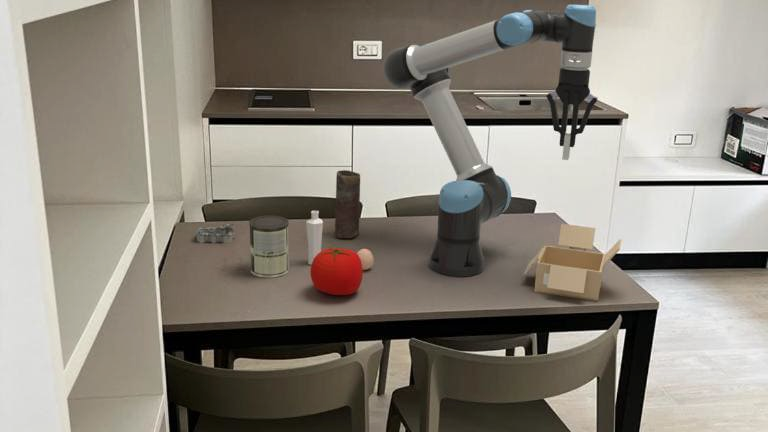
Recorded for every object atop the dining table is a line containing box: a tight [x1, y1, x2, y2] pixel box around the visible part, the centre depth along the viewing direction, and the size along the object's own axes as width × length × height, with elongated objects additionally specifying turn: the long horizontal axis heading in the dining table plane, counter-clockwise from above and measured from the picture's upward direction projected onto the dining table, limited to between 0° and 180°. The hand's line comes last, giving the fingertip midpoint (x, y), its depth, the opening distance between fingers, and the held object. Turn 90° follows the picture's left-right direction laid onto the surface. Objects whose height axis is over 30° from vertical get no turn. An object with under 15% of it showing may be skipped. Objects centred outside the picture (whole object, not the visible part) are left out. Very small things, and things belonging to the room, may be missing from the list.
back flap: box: [557, 223, 596, 251], centre depth 214 cm, size 9×1×6 cm
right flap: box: [603, 238, 622, 267], centre depth 203 cm, size 1×8×6 cm
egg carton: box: [196, 223, 235, 244], centre depth 235 cm, size 11×8×4 cm
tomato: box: [310, 247, 364, 296], centre depth 200 cm, size 13×14×12 cm
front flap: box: [547, 265, 587, 293], centre depth 200 cm, size 9×1×6 cm, turn 71°
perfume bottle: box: [305, 210, 324, 266], centre depth 217 cm, size 5×4×15 cm
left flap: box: [523, 247, 544, 276], centre depth 210 cm, size 1×8×6 cm
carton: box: [533, 245, 606, 303], centre depth 208 cm, size 16×14×8 cm
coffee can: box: [248, 214, 290, 279], centre depth 211 cm, size 10×10×14 cm
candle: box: [334, 169, 361, 239], centre depth 238 cm, size 8×7×20 cm
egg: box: [356, 248, 375, 271], centre depth 216 cm, size 5×5×6 cm
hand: (565, 158), depth 208 cm, fingers closed
